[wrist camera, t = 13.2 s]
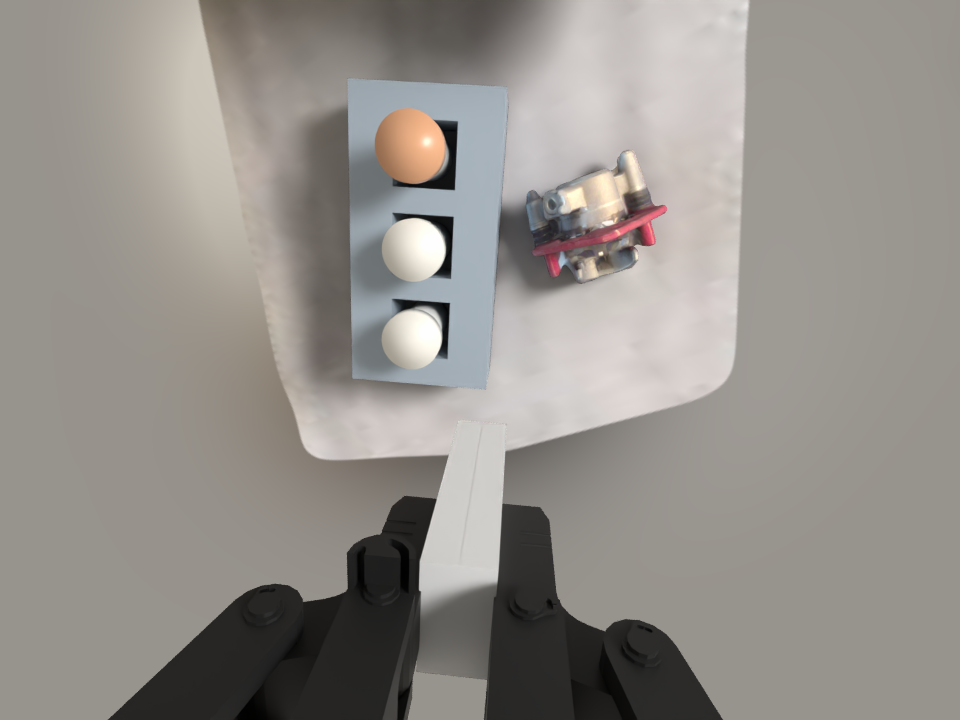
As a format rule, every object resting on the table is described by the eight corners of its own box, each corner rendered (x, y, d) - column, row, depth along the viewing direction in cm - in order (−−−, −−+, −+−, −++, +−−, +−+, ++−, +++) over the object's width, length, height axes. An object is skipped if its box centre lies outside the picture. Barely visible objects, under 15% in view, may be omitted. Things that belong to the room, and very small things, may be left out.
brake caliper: (554, 321, 47) (532, 256, 36) (523, 227, 51) (496, 143, 40) (676, 281, 45) (693, 200, 34) (634, 187, 49) (637, 87, 38)
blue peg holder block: (373, 96, 45) (347, 78, 38) (508, 104, 44) (506, 86, 37) (373, 355, 52) (352, 378, 45) (489, 365, 51) (485, 389, 45)
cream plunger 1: (407, 214, 45) (381, 216, 37) (458, 217, 45) (444, 220, 37) (406, 265, 47) (381, 279, 38) (455, 269, 46) (441, 283, 38)
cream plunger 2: (405, 291, 47) (381, 310, 39) (454, 295, 47) (440, 315, 39) (404, 338, 49) (381, 367, 40) (452, 342, 48) (438, 371, 40)
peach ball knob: (403, 125, 41) (374, 106, 33) (459, 128, 41) (444, 110, 33) (402, 185, 43) (374, 180, 34) (456, 188, 42) (441, 184, 34)
